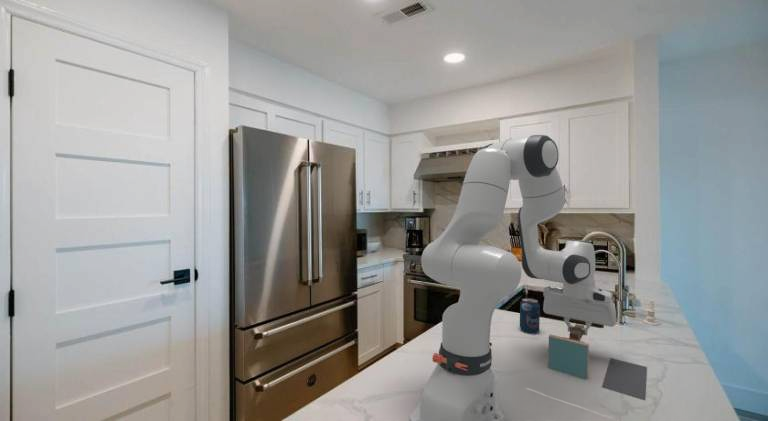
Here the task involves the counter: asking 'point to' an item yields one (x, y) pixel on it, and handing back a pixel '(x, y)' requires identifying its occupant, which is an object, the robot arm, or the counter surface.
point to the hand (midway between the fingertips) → (577, 333)
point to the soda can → (529, 315)
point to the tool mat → (626, 378)
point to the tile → (568, 356)
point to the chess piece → (651, 314)
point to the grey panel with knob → (576, 333)
